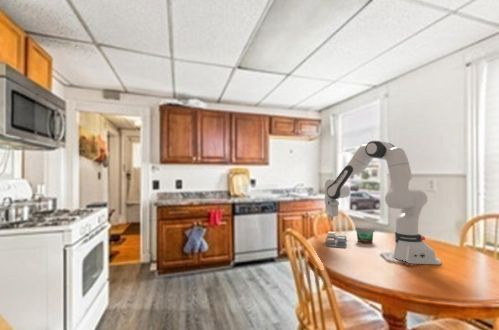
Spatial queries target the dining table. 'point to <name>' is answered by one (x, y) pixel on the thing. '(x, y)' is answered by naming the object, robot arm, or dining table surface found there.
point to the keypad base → (336, 243)
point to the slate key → (341, 239)
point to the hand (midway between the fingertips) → (331, 220)
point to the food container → (365, 235)
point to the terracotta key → (330, 239)
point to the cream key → (331, 234)
